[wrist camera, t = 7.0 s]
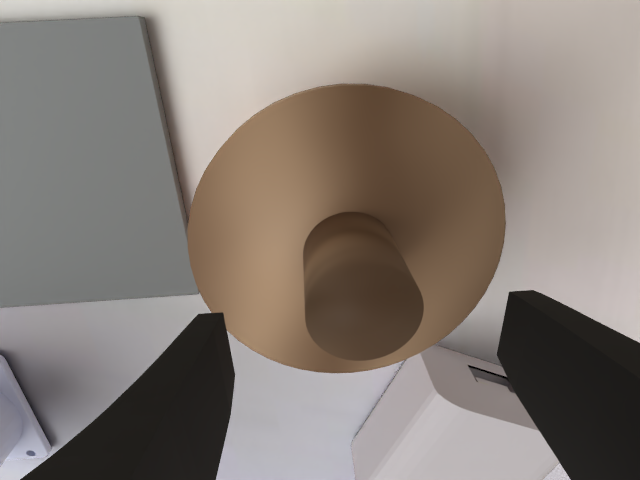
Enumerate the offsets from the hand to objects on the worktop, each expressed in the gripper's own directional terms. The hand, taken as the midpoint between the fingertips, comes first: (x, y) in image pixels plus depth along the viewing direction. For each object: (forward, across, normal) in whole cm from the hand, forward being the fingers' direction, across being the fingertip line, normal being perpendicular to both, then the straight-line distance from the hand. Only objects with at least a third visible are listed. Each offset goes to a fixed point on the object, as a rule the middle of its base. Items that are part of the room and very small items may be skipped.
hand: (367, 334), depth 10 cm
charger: (+10, -5, +17) cm, 20 cm away
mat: (+9, +13, -2) cm, 16 cm away
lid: (+5, 0, 0) cm, 5 cm away
